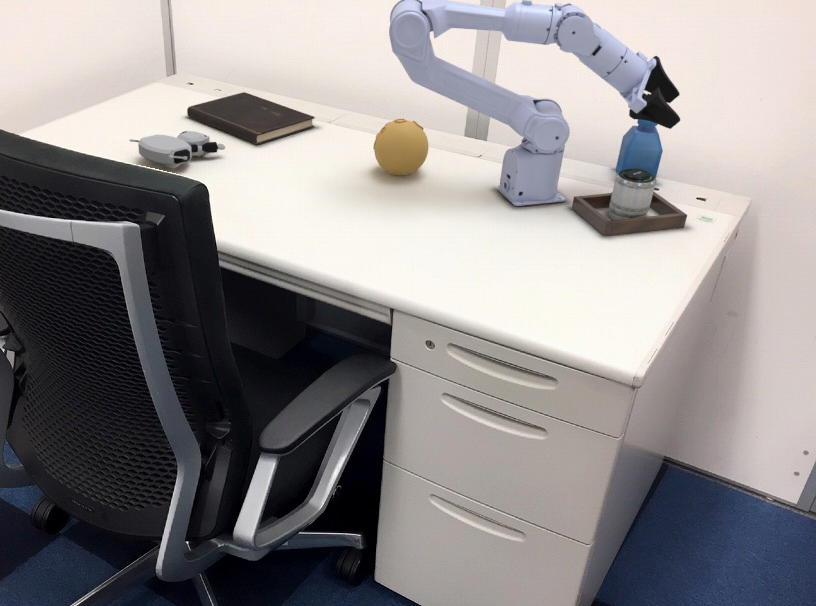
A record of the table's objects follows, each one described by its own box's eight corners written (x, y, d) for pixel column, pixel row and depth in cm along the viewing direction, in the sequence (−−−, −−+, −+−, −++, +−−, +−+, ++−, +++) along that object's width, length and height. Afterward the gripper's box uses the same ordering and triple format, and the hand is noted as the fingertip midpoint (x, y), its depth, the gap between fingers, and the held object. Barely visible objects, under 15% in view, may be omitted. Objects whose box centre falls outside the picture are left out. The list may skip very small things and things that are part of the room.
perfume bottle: (654, 184, 154) (671, 118, 147) (618, 181, 155) (633, 115, 148) (650, 171, 159) (666, 107, 152) (615, 168, 160) (630, 104, 153)
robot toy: (188, 146, 172) (127, 160, 162) (188, 123, 169) (126, 136, 160) (229, 161, 165) (168, 177, 155) (229, 138, 162) (167, 153, 153)
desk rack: (603, 236, 137) (606, 223, 136) (571, 208, 146) (573, 196, 144) (684, 227, 140) (687, 214, 138) (647, 200, 148) (650, 188, 147)
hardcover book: (244, 102, 192) (244, 91, 191) (314, 127, 178) (314, 116, 177) (187, 117, 183) (186, 107, 182) (256, 145, 170) (255, 134, 168)
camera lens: (599, 216, 143) (609, 171, 138) (622, 206, 146) (632, 162, 142) (630, 229, 139) (642, 183, 134) (654, 219, 142) (665, 174, 137)
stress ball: (437, 176, 157) (442, 122, 151) (394, 188, 153) (398, 133, 147) (403, 159, 164) (407, 107, 158) (362, 170, 159) (364, 117, 154)
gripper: (631, 67, 128) (696, 118, 132) (633, 20, 137) (694, 70, 141) (597, 99, 134) (659, 148, 137) (600, 53, 143) (659, 99, 146)
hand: (674, 110), depth 139 cm, fingers open, 7 cm apart
